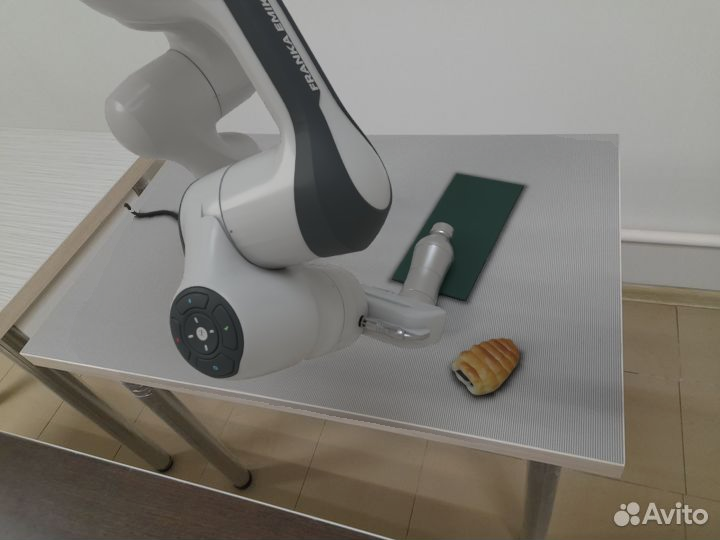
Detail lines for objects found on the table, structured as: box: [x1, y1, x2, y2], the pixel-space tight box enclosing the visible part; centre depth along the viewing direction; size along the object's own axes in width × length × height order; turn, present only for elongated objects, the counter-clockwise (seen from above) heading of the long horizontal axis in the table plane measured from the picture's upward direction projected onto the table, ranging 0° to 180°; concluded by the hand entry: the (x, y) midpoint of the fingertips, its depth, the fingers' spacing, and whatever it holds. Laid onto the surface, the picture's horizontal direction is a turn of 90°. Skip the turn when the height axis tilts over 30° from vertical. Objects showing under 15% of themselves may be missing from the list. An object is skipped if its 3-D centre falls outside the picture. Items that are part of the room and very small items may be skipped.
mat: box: [391, 173, 524, 302], centre depth 91 cm, size 28×13×1 cm, turn 151°
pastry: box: [451, 337, 520, 396], centre depth 72 cm, size 9×7×4 cm
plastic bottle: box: [397, 222, 454, 306], centre depth 82 cm, size 6×7×20 cm
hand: (383, 296), depth 64 cm, fingers closed
